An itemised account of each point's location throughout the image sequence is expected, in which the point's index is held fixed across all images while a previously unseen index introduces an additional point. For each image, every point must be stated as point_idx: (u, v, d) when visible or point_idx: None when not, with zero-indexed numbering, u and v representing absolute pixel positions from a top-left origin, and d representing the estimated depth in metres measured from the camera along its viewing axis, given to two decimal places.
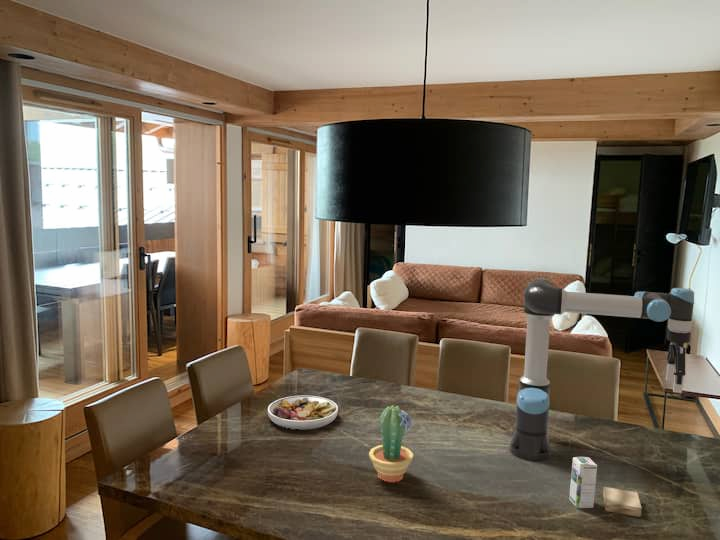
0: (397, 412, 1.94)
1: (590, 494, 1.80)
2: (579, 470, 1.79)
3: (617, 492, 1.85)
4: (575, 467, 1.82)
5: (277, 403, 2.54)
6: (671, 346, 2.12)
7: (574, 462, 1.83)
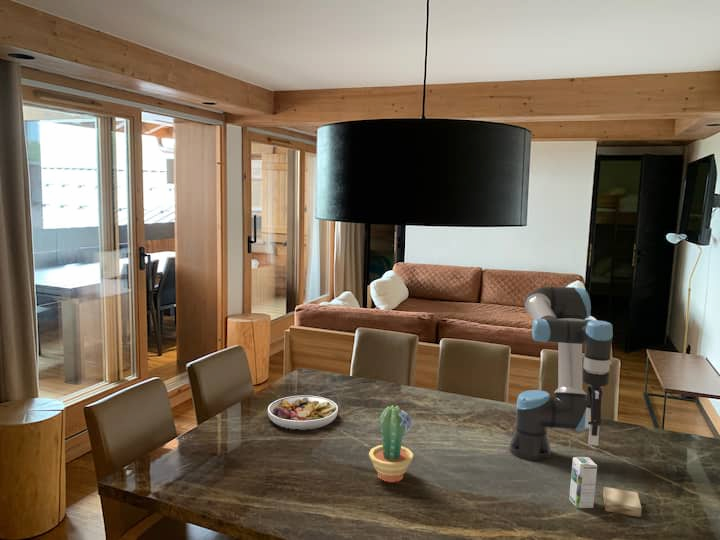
0: (397, 412, 1.94)
1: (590, 494, 1.80)
2: (579, 470, 1.79)
3: (617, 492, 1.85)
4: (575, 467, 1.82)
5: (277, 403, 2.54)
6: (588, 389, 1.81)
7: (574, 462, 1.83)
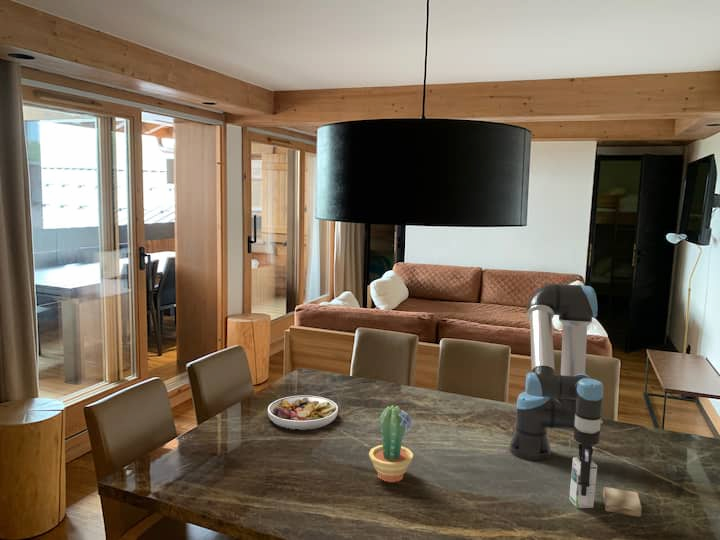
0: (397, 412, 1.94)
1: (590, 494, 1.80)
2: (579, 469, 1.79)
3: (617, 492, 1.85)
4: (575, 467, 1.82)
5: (277, 403, 2.54)
6: (579, 445, 1.82)
7: (574, 462, 1.83)
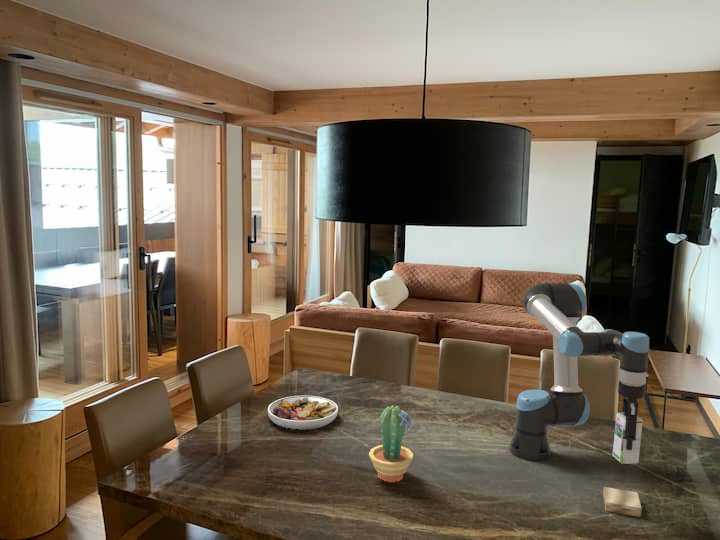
0: (397, 412, 1.94)
1: (635, 449, 1.77)
2: (624, 424, 1.76)
3: (617, 492, 1.85)
4: (619, 422, 1.79)
5: (277, 403, 2.54)
6: (623, 400, 1.79)
7: (618, 417, 1.80)
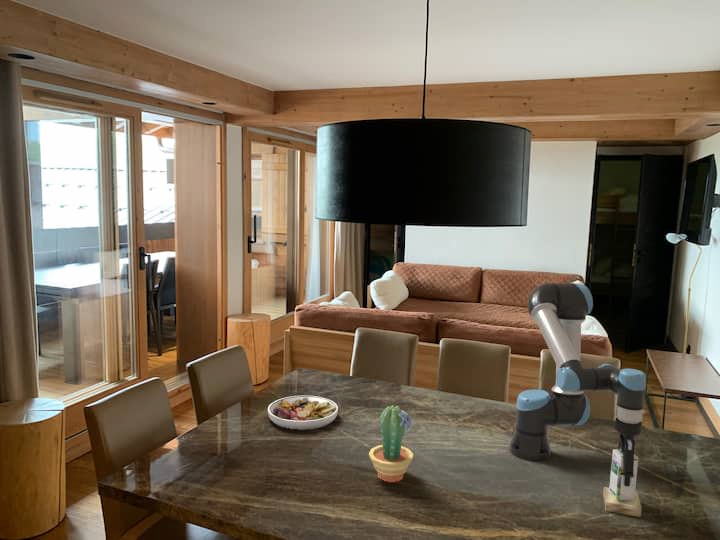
0: (397, 412, 1.94)
1: (631, 486, 1.79)
2: (620, 461, 1.78)
3: None
4: (616, 459, 1.81)
5: (277, 403, 2.54)
6: (620, 436, 1.81)
7: (614, 454, 1.82)
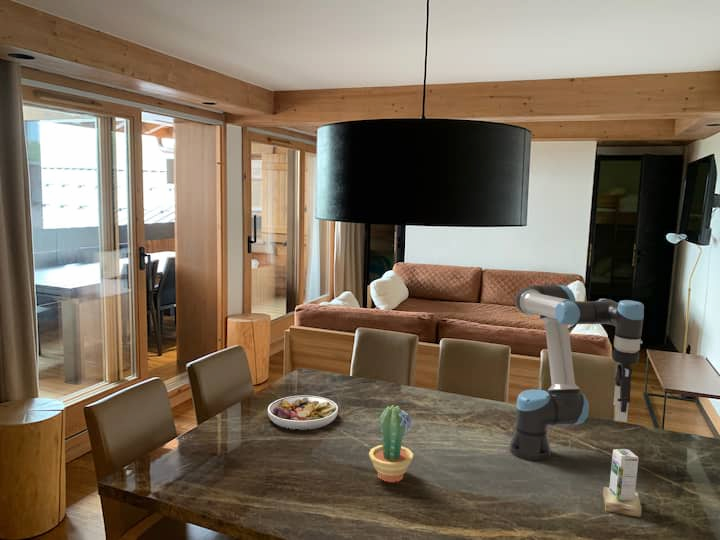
0: (397, 412, 1.94)
1: (631, 486, 1.79)
2: (620, 461, 1.78)
3: None
4: (616, 459, 1.81)
5: (277, 403, 2.54)
6: (618, 367, 1.85)
7: (614, 454, 1.82)
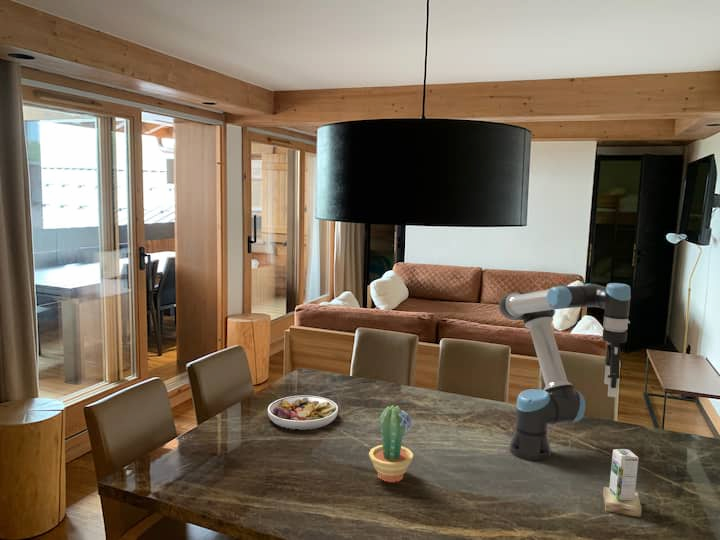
0: (397, 412, 1.94)
1: (631, 486, 1.79)
2: (620, 461, 1.78)
3: None
4: (616, 459, 1.81)
5: (277, 403, 2.54)
6: (607, 346, 1.96)
7: (614, 454, 1.82)
